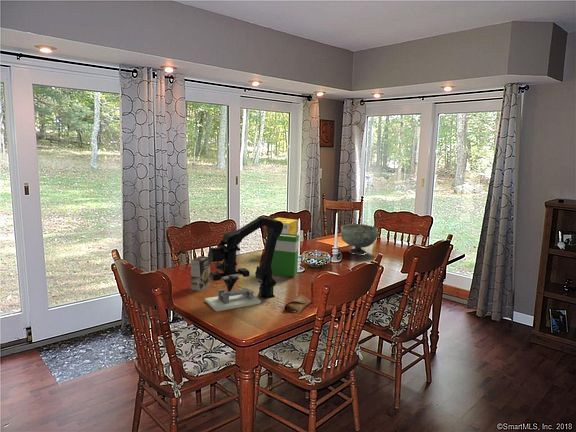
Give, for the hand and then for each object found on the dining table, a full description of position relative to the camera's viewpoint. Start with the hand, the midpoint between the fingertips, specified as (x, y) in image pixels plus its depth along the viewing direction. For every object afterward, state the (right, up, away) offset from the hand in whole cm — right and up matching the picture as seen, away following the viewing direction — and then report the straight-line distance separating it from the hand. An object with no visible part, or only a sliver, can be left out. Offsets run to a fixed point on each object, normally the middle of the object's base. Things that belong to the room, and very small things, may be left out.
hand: (229, 291), depth 204 cm
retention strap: (+3, -2, +2) cm, 4 cm away
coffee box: (-18, -2, +20) cm, 27 cm away
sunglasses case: (+34, -8, +1) cm, 35 cm away
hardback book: (+24, +1, +51) cm, 56 cm away
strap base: (+2, -6, +2) cm, 6 cm away
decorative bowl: (+79, +9, +106) cm, 133 cm away
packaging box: (+24, +8, +91) cm, 94 cm away
